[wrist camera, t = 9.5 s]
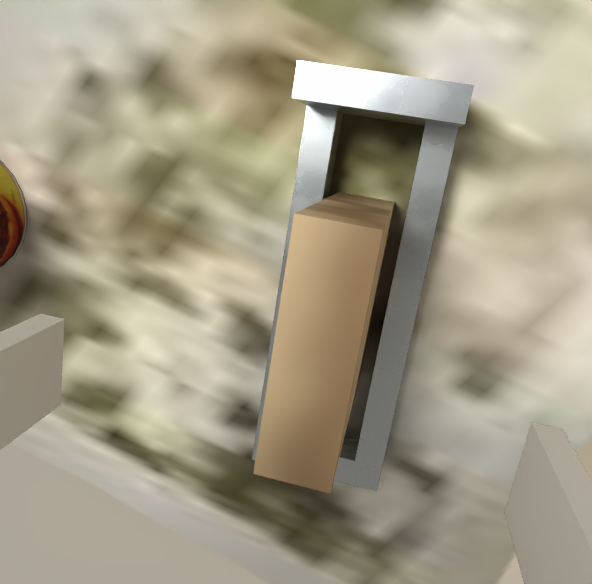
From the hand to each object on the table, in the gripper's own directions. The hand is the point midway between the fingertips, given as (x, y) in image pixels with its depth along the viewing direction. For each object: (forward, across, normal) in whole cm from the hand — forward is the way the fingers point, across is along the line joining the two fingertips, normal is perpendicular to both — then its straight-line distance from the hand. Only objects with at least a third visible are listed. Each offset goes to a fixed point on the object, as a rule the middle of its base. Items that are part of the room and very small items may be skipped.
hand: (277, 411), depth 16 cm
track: (+17, +1, 0) cm, 17 cm away
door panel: (+17, +1, 0) cm, 17 cm away
